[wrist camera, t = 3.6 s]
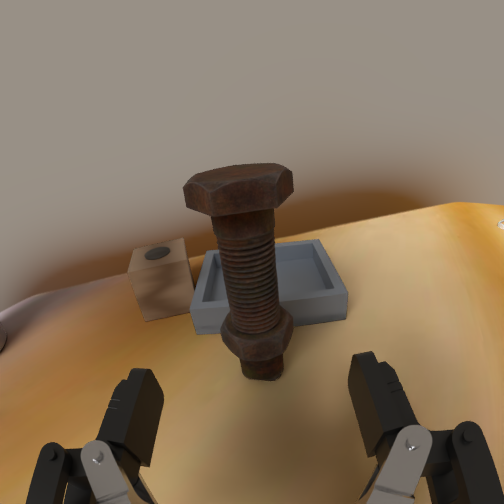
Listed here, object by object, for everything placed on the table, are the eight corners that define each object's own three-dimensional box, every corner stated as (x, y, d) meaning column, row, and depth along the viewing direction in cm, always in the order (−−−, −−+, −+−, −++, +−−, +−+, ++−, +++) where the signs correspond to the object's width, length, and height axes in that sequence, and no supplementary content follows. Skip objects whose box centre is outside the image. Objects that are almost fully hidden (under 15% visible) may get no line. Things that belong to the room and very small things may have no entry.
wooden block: (145, 321, 28) (126, 271, 25) (147, 292, 33) (133, 247, 30) (199, 310, 29) (186, 258, 26) (193, 282, 34) (183, 236, 31)
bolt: (247, 341, 24) (221, 164, 17) (303, 351, 22) (298, 160, 15) (217, 390, 19) (163, 186, 13) (282, 407, 17) (263, 182, 11)
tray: (196, 334, 25) (189, 309, 24) (210, 271, 36) (206, 250, 35) (345, 319, 25) (348, 293, 23) (318, 260, 36) (318, 239, 34)
